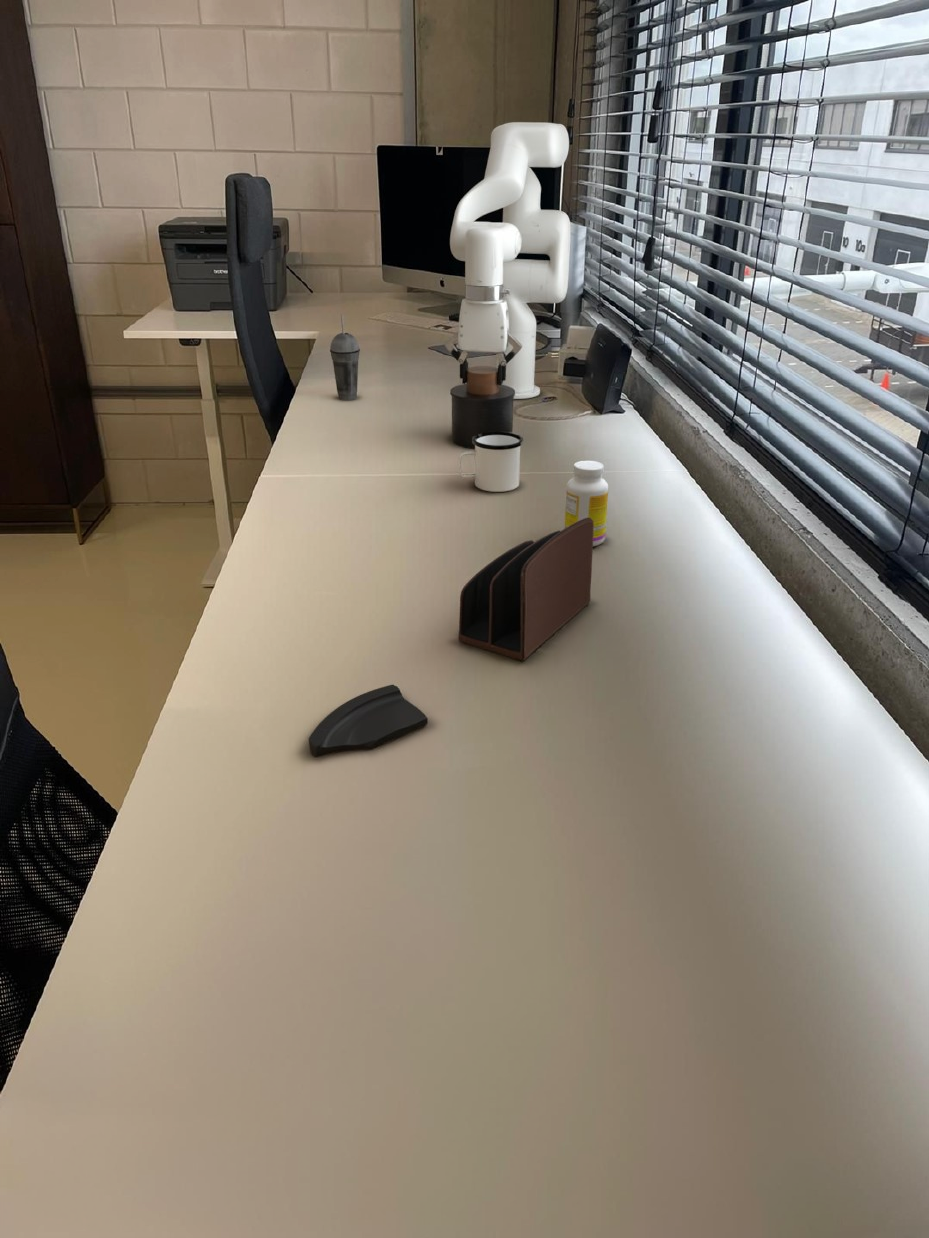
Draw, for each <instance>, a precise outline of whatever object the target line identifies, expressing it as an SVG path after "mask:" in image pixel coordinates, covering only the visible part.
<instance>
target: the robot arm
mask: <svg viewBox="0 0 929 1238" xmlns="http://www.w3.org/2000/svg"><path fill="white" fill-rule="evenodd" d="M569 137H570V136H569V132H568V130H567V128H566V126H565V125H563V124H562V123H555V122H537V121H536V122H535V121H533V122H532V121H531V122H530V121H526V122H524V121H513V122H506V123H503V124H501V125H498V126H495V128H493V130H492V131H491V134H490V148H489V154H488V157H487V164H486V168H485V172H484V178H483V179H482V180H481V181H479V182H478V183H477V184H475V185H474V186H473V187H472V188H471V189H470V190H469V191H468V192H466V194H464V196H463V197H462V198H461V199H460V201H459V202H458V204H457V206H456V209H455V211H454V216H453V220H452V225H451V229H450V236H449V246H450V247H449V248H450V252H451V254H452V255H453V258H455V259H456V260H458V261H461V262H464V263H465V264H464V265H465V266H464V267H465V269H464V270H465V271H464V272H465V273H464V278H465V279H464V282H465V283H464V287H465V288H464V294H465V295H464V298H462V300H461V303H460V310H459V318H458V331H456V332H455V333H454V334H453V335H452V336H451V337H450V338H448V339H447V340H446V341H445V342H444V347H445V348H446V349H447V351H448V352H449V353H450V354H451V356H452V357H453V358H454V359H455V360H456V361H457V364H459V379H461V381H462V384H466V370H467V368H469V362H468V359H467V358H468V356H469V354H470V353H490V354H495V355H496V366H495V367H496V368H498V385H506V386H509V387H511V388H513V389H514V390H515V395H514V400H524V399H525V400H526V399H531V398H535V397H537V396H539V395H540V394H541V388H540V387H539V386H537V385H536V384H535V371H536V370H535V369H536V344H537V343H536V342H537V318H536V316H535V314H534V313H533V310H532V309H531V308H530V307H529V305H528V303H530V304H531V303H535V304H536V303H538V304H539V303H540V304H559V303H561V302H563V301H564V300H565V298H566V297H567V293H568V289H569V277H570V275H569V274H570V257H571V244H572V243H571V242H572V241H571V240H572V226H571V220H570V218H569V215H568V214H567V213H566V212H564V211H563V210H557V209H541V193H542V186H541V183H540V181H539V179H538V177H537V175H536V173H535V172H534V171H533V169H532V168H560V167H562V166H563V165H564V164H565V162H566V160H567V157H568V154H569V149H570V138H569ZM500 209H503V210H502V222H491V221H476V220H478V219H480V218H481V217H483V216H484V215H487V214H489V213H492V212H495V211H498V210H500ZM519 254H533V255H534V254H536V255H537V254H538V255H547V256H548V257H549V260H547V259H545V260H544V259H525V258H524V259H523V258H517V256H518V255H519ZM456 342H457V347H458V348H456V346H455V345H454V344H455V343H456ZM459 350H460V351H461V352H460V351H459ZM462 384H461V385H462Z"/></svg>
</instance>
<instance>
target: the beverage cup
mask: <svg viewBox="0 0 929 1238" xmlns="http://www.w3.org/2000/svg"><path fill="white" fill-rule="evenodd" d="M340 321H341V332H340V333H338V334H336V335H335V336H334V337H333V339H332V341H331V343H330V349H329V352H330V357H331V360H332V365H333V372H334V380H335V386H336V393H337V396H338V397H337V398H338V400H341V401H354V400H356V399H357V398H358V396H357V395H358V382H359V381H358V379H359V377H358V376H359V359H360V352H361V349H360V348H361V347H360V344H359V341H358V339H357V338H356V337H355V336H354V335H353V334H351V333H349V332H345V323H344V314H340Z"/></svg>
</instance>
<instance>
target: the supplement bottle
mask: <svg viewBox="0 0 929 1238" xmlns="http://www.w3.org/2000/svg"><path fill="white" fill-rule="evenodd" d="M604 467H605V466H604V464H603V463H602V462H599V461H596V460H579V461H576V462H575V463H574V464H573V474H574V476H573V477H571V478H570V479H569V480H568V482H567V484H566V489H565V509H564V510H565V511H564V529H565V528H567V527H568V526H570V525H572V524H574V523H575V522H577V521H579V520H582V519H584V518H588V517H589V518H591V519H592V520H593V524H594V529H593V547H597V546H600V545H601V544H603V543H604V541H605V539H606V533H607V532H606V531H607V515H608V503H609V502H608V501H609V484H608V482H607V480H605V479H604V478H603V477H602V476H603V474H604V469H605V468H604Z"/></svg>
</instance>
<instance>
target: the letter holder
mask: <svg viewBox="0 0 929 1238" xmlns="http://www.w3.org/2000/svg"><path fill="white" fill-rule="evenodd" d="M593 529H594V524H593V520H592V519H591V518H589V517H588V518H584V519H582V520H579V521H577V522H575V523H574V524H572V525H570V526H568V527H567V528H565V527H564V528H563V529H562V530H556V531H554V532H551V533H548V534H547V535H545V536H543V537H541V538H539V539H536V541H534V540H532V539H530V540H525V541H523V542H521V543H519V544H517V545H516V546H514V547H512V548H509V550H507V551H505V552H503V553H502V554H501V555H499V556H498V557H496V558H494V560H492V561H491V562H489V563H488V564H487V565H485V566H484V567H483V568H481V569H480V570H479V571H478V572H477V573H476V574H474V575H473V577H471V578H470V579H469V580H468V581H467V582H466V583H465V585H464V586H463V588H462V589H461V592H460V596H459V616H458V617H459V618H458V621H459V622H458V642H461V643H463V644H467V645H470V646H473V647H475V648H479V649H483V650H486V651H489V652H492V653H496V654H499V655H502V656H506V657H508V658H511V659H515V660H518V661H521V662H524V661H525V660H526V659H528V657H530V656H531V655H532V653H534V652H535V651H536V650H537V649H538V648H540V646H542V644H544V643H545V642H546V641H547V640H549V638H551V637H552V636H553V635H554V634H555V633H556V632H558V631H559V630H560V629H561V628H562V627H563V626H565V625H566V624H567V623H568V622H569V621H571V619H573V618H574V617H575V616H576V615H577V614H578V613H579V612H580V611H582V610H583V609H584V608H585V607H586V606H588V605H589V603H591V587H592V574H593V573H592V572H593V571H592V570H593V553H594V546H593Z"/></svg>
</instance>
